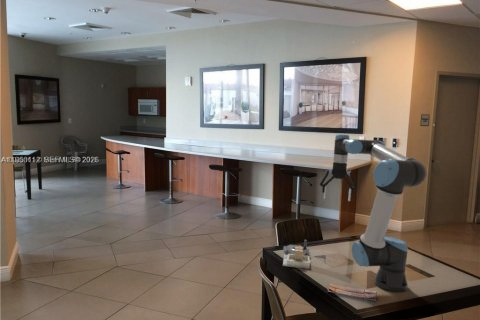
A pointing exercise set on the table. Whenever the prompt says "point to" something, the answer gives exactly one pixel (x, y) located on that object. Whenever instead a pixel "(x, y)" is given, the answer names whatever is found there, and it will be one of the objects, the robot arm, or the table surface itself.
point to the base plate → (299, 264)
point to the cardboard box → (298, 253)
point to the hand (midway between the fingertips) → (336, 199)
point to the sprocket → (291, 249)
